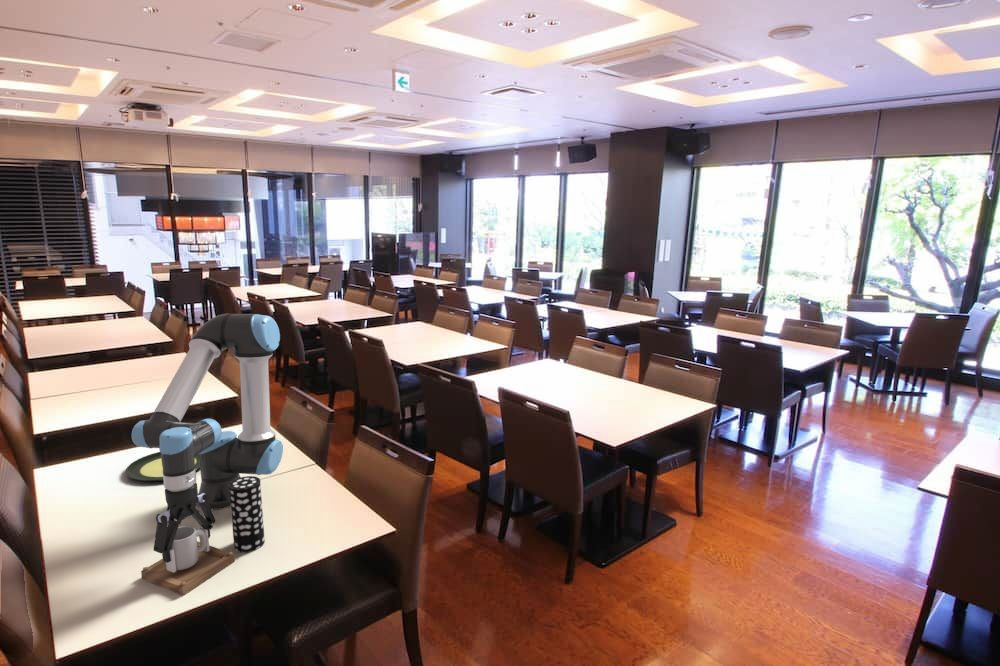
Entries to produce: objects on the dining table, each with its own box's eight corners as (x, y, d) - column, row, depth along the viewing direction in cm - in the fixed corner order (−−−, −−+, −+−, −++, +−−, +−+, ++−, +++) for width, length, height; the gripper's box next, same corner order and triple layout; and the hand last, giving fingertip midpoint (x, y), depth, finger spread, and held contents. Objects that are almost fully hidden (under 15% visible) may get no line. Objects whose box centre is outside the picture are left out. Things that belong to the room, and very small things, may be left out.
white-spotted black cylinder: (245, 555, 160) (240, 492, 156) (228, 546, 164) (222, 484, 160) (270, 542, 167) (266, 480, 163) (253, 533, 171) (248, 473, 167)
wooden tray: (142, 578, 149) (140, 569, 148) (195, 547, 163) (194, 538, 163) (183, 595, 143) (182, 585, 142) (234, 561, 157) (233, 552, 156)
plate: (187, 447, 232) (186, 442, 232) (224, 465, 217) (223, 459, 217) (112, 472, 210) (111, 466, 209) (147, 493, 194) (146, 487, 194)
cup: (165, 562, 152) (161, 533, 150) (204, 547, 159) (201, 519, 157) (173, 574, 147) (169, 544, 145) (213, 558, 154) (210, 529, 152)
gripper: (150, 507, 136) (159, 587, 141) (226, 471, 156) (232, 542, 161) (130, 501, 139) (140, 579, 144) (207, 466, 159) (213, 536, 164)
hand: (188, 560), depth 152 cm, fingers closed on cup, 9 cm apart
